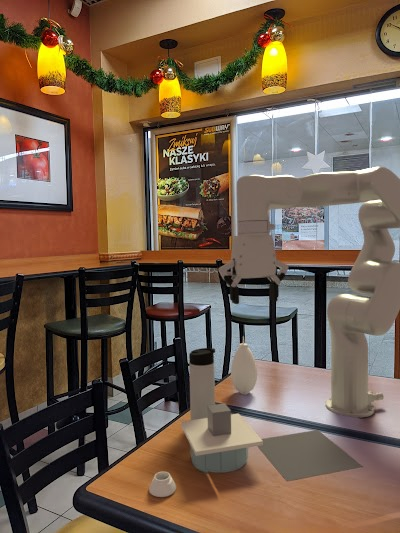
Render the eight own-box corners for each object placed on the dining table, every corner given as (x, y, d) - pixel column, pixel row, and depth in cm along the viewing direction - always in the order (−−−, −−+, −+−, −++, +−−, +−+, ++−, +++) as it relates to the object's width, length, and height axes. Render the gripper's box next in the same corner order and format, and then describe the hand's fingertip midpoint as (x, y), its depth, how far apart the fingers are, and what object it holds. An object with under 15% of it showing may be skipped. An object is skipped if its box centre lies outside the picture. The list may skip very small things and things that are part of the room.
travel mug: (214, 433, 101) (212, 352, 99) (188, 431, 102) (186, 351, 101) (218, 422, 107) (217, 346, 105) (193, 420, 108) (191, 345, 107)
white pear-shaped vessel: (261, 391, 127) (260, 334, 126) (250, 400, 121) (249, 339, 120) (238, 387, 132) (237, 331, 131) (227, 395, 125) (225, 336, 124)
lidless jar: (181, 491, 78) (166, 480, 82) (180, 476, 78) (165, 465, 81) (158, 502, 75) (144, 490, 79) (158, 487, 74) (144, 475, 78)
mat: (317, 432, 100) (317, 429, 100) (363, 469, 83) (363, 466, 83) (252, 442, 95) (252, 440, 95) (286, 484, 79) (286, 481, 79)
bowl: (236, 442, 96) (235, 419, 96) (256, 469, 84) (256, 443, 84) (186, 450, 93) (185, 426, 92) (200, 479, 81) (199, 452, 81)
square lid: (238, 416, 97) (238, 392, 96) (262, 444, 83) (262, 417, 83) (180, 425, 93) (179, 400, 93) (195, 455, 80) (195, 426, 79)
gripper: (279, 229, 102) (280, 297, 103) (213, 230, 98) (215, 302, 99) (294, 228, 95) (295, 301, 96) (223, 229, 90) (225, 306, 92)
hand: (254, 302), depth 97 cm, fingers open, 9 cm apart
